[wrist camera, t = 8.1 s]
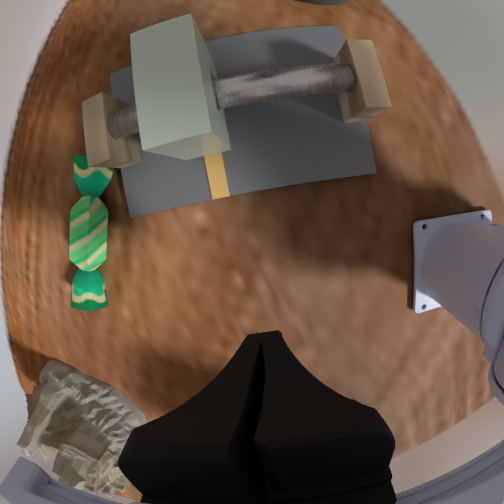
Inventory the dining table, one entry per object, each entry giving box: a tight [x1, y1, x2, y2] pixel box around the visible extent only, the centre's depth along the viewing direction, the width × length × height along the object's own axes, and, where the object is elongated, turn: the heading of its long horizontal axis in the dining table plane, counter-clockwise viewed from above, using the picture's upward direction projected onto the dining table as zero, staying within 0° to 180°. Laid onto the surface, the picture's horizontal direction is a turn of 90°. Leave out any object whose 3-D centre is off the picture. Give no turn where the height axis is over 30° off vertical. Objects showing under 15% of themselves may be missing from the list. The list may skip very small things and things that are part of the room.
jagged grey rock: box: [17, 360, 148, 498], centre depth 20 cm, size 16×16×15 cm
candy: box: [70, 155, 114, 312], centre depth 19 cm, size 12×3×4 cm
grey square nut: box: [130, 14, 231, 160], centre depth 13 cm, size 3×6×7 cm, turn 11°
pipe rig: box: [82, 26, 392, 218], centre depth 15 cm, size 18×12×6 cm, turn 101°
